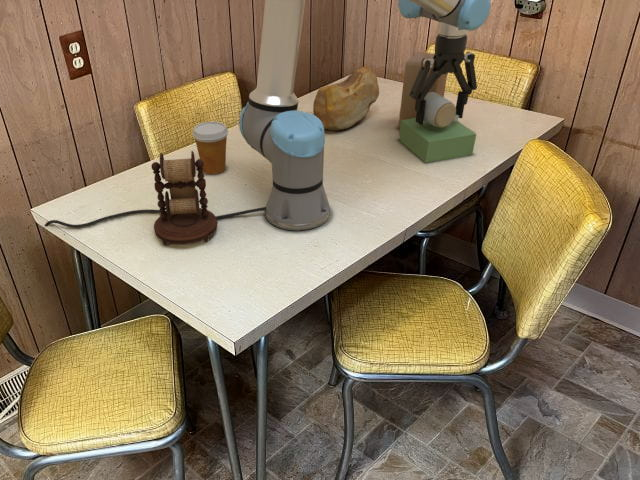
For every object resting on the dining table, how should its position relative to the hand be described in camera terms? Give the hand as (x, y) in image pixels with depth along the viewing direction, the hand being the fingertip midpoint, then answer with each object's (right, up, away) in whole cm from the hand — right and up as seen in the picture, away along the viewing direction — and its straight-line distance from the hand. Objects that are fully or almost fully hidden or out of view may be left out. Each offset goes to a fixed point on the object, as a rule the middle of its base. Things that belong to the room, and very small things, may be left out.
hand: (438, 119), depth 161 cm
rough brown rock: (-23, +8, +25) cm, 35 cm away
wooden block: (0, +3, +17) cm, 17 cm away
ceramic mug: (0, -1, +1) cm, 1 cm away
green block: (0, -6, +5) cm, 8 cm away
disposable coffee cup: (-62, -13, +2) cm, 63 cm away
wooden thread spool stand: (-67, -34, -23) cm, 78 cm away
